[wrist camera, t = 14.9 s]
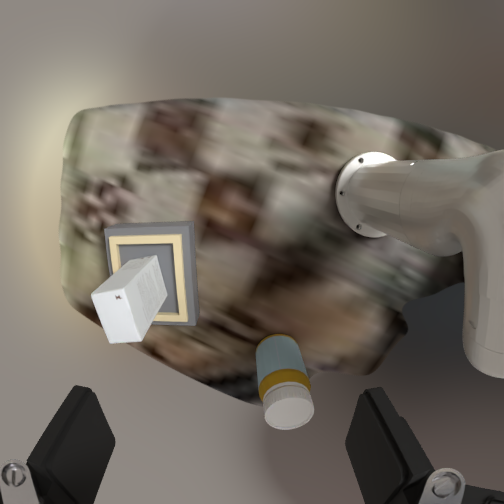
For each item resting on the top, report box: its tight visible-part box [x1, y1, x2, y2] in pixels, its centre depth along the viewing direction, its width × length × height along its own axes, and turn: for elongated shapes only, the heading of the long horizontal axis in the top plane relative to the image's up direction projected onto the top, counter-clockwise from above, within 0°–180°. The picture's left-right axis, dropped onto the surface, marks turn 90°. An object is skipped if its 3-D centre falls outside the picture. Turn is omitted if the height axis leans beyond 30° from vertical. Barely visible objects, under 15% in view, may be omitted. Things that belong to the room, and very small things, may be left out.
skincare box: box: [91, 255, 167, 344], centre depth 32 cm, size 6×4×12 cm
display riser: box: [104, 221, 199, 326], centre depth 39 cm, size 12×14×5 cm
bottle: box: [256, 334, 314, 430], centre depth 39 cm, size 7×7×15 cm
